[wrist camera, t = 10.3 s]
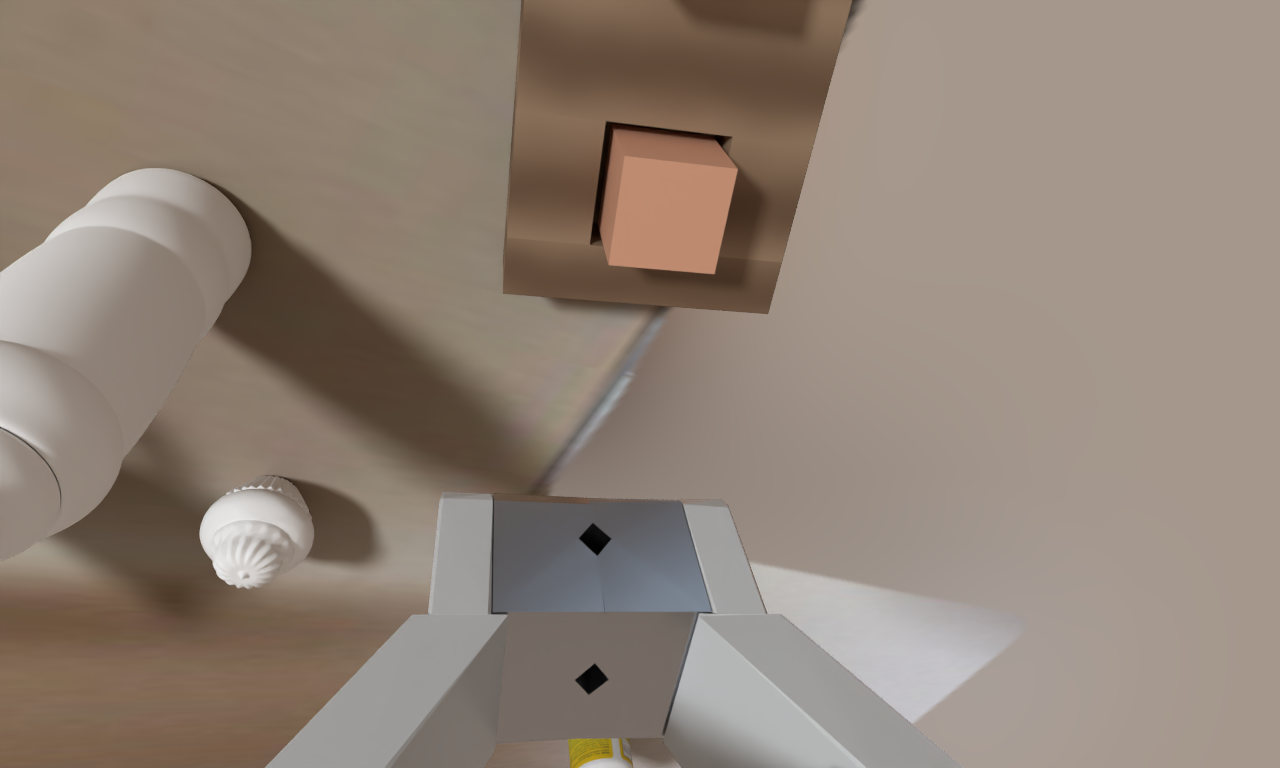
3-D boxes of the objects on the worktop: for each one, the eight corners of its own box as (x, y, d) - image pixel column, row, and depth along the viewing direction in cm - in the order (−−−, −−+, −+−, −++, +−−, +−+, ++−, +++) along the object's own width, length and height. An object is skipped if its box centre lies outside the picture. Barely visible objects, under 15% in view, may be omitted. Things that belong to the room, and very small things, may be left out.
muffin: (308, 449, 48) (281, 529, 42) (337, 524, 51) (315, 608, 46) (202, 463, 47) (160, 547, 42) (238, 538, 51) (203, 625, 45)
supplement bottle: (555, 718, 66) (561, 820, 59) (584, 684, 64) (594, 784, 57) (605, 730, 67) (617, 831, 60) (634, 697, 66) (650, 797, 59)
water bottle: (284, 233, 41) (57, 617, 20) (202, 321, 43) (-85, 754, 22) (153, 132, 37) (-288, 468, 17) (69, 232, 39) (-419, 646, 18)
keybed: (543, -314, 31) (549, -336, 27) (878, -237, 34) (918, -248, 30) (502, 260, 43) (502, 293, 40) (748, 281, 46) (767, 313, 43)
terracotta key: (611, 123, 38) (624, 155, 34) (712, 136, 39) (738, 169, 35) (597, 223, 40) (608, 264, 36) (693, 233, 41) (714, 274, 37)
